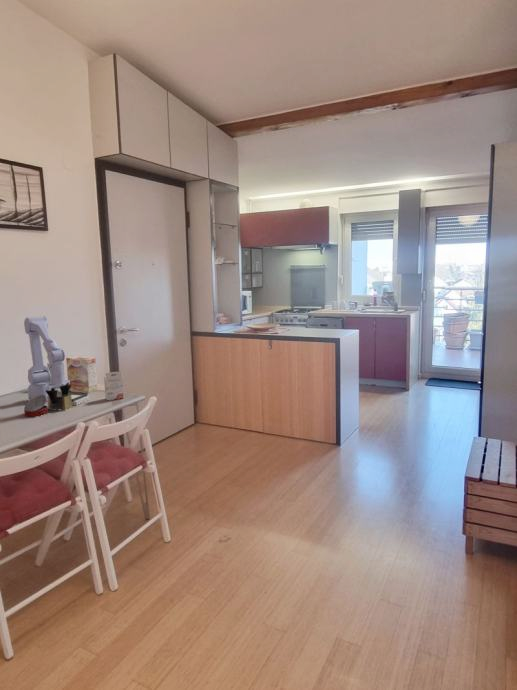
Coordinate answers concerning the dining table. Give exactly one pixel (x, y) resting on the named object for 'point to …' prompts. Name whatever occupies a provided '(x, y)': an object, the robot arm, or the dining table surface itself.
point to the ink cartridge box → (113, 386)
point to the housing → (60, 402)
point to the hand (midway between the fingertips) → (59, 401)
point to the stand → (79, 398)
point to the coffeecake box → (82, 374)
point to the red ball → (36, 407)
